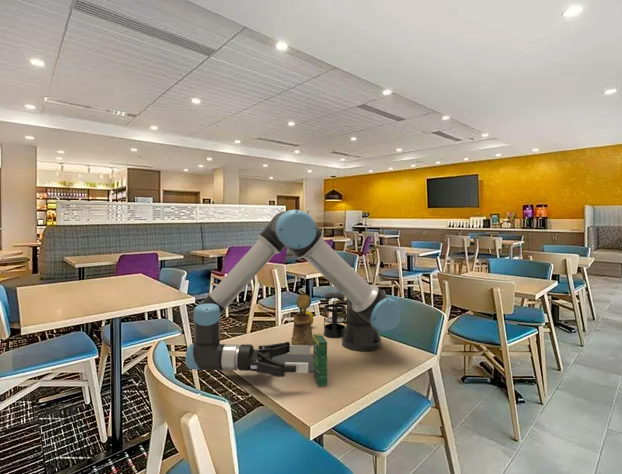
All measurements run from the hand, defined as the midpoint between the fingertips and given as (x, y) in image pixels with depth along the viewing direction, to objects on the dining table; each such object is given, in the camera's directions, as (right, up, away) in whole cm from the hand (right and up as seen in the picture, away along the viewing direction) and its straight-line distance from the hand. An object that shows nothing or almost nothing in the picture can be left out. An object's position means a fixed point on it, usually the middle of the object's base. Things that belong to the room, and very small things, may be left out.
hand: (309, 358), depth 104 cm
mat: (-7, -6, +13) cm, 16 cm away
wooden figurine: (-3, -5, +35) cm, 35 cm away
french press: (+11, -5, +43) cm, 45 cm away
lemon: (-1, -5, +52) cm, 52 cm away
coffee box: (+3, -7, +1) cm, 8 cm away
